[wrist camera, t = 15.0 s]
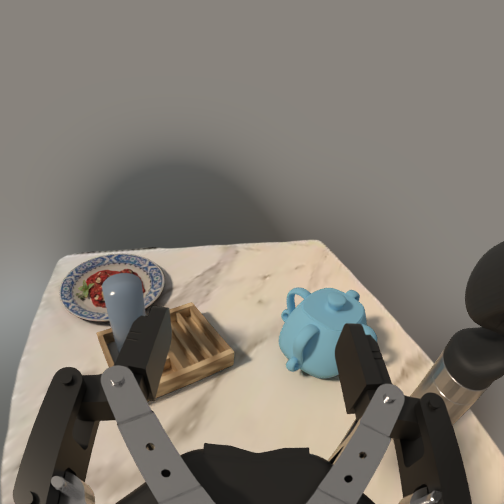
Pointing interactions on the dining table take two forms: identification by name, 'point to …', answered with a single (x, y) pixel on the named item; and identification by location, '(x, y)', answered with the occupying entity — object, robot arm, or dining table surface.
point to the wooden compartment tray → (183, 350)
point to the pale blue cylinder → (123, 304)
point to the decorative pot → (318, 328)
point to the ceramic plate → (96, 272)
